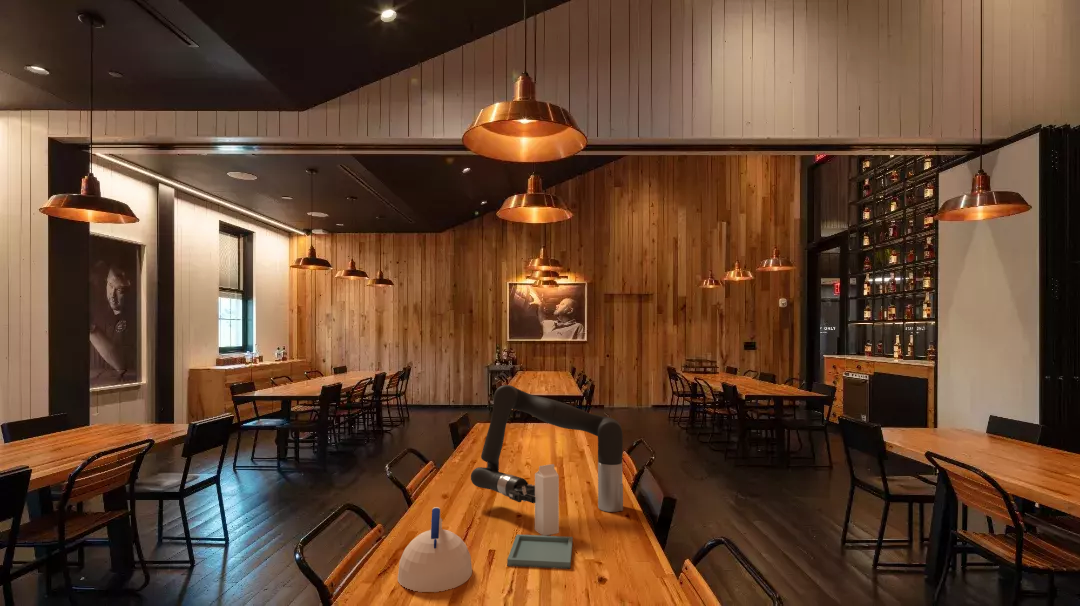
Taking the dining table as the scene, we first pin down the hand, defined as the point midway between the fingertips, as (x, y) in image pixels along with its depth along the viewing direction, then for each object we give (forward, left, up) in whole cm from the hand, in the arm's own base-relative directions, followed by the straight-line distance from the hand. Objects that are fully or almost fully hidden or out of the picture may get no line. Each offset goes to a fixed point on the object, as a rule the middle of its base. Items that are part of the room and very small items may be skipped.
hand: (543, 497), depth 173 cm
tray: (-1, +18, -11) cm, 21 cm away
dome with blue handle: (+27, +34, -11) cm, 45 cm away
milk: (-1, +1, -11) cm, 11 cm away
